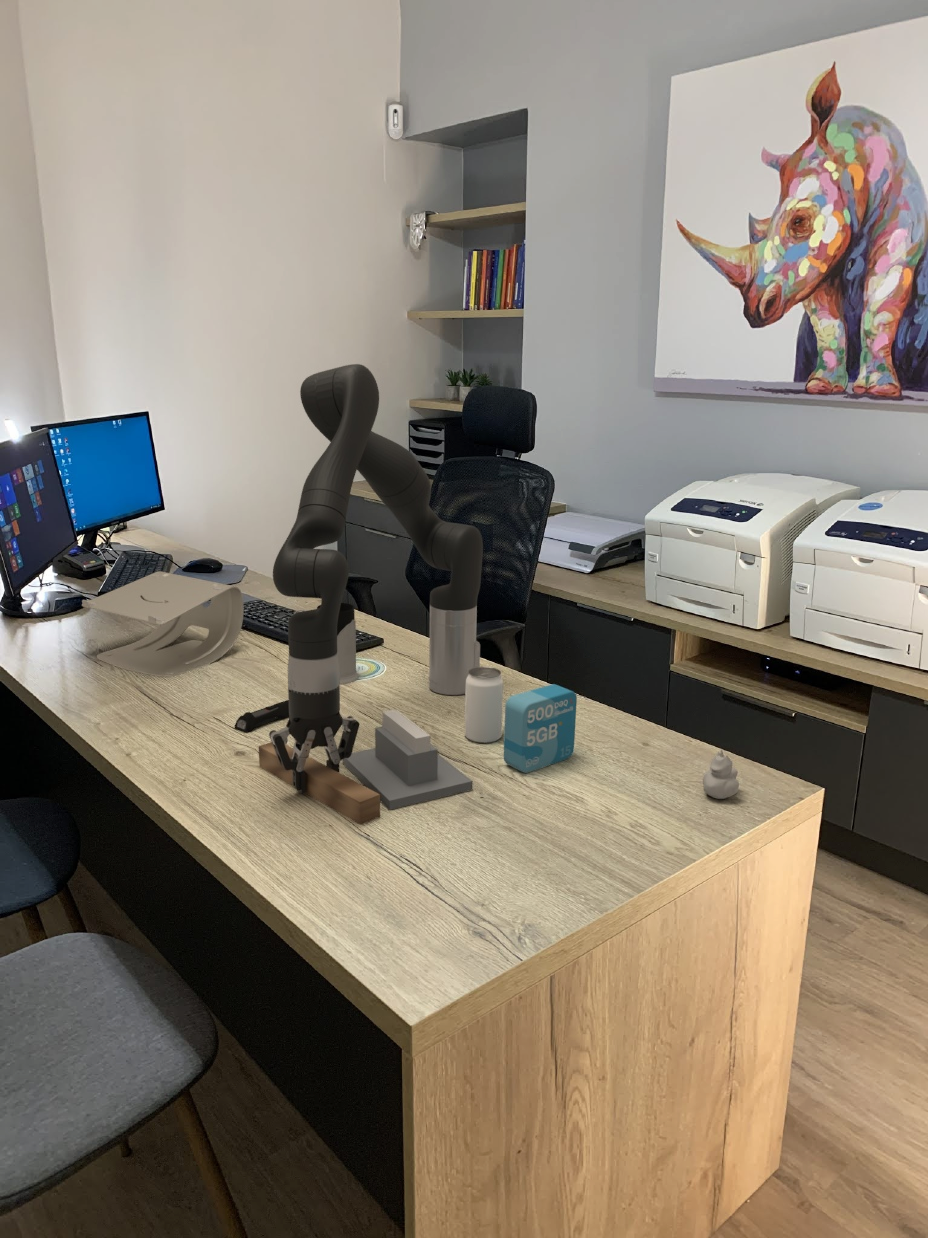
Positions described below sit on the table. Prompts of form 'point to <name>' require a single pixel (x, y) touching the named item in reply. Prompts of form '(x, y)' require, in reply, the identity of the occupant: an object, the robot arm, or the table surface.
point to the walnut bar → (327, 786)
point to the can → (483, 705)
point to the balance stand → (405, 765)
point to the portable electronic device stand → (173, 622)
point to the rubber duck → (721, 778)
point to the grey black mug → (345, 643)
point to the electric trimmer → (262, 716)
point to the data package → (539, 727)
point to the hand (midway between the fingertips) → (316, 787)
